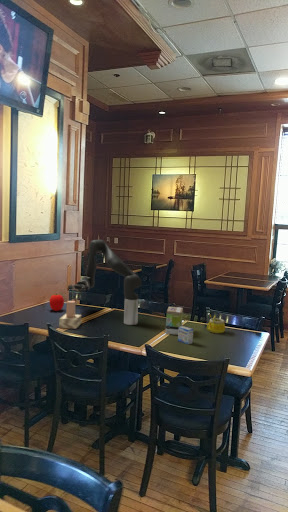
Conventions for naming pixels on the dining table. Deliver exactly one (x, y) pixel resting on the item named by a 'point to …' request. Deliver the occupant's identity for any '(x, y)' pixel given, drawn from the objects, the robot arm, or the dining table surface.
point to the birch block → (70, 321)
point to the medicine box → (185, 335)
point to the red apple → (56, 302)
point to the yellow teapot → (216, 325)
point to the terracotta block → (70, 309)
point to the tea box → (173, 320)
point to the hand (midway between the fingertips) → (76, 289)
